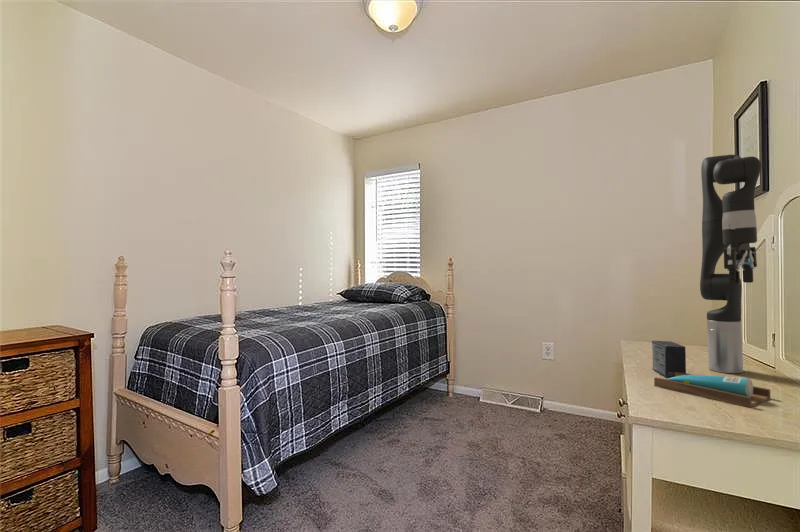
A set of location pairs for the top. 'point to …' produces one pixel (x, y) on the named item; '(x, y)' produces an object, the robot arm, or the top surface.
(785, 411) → the top surface
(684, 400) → the top surface
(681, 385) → the brown wooden tray
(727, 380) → the tube
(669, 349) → the small box
